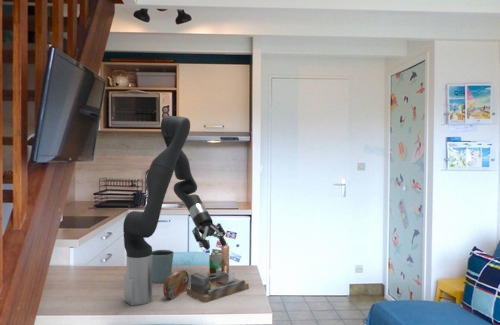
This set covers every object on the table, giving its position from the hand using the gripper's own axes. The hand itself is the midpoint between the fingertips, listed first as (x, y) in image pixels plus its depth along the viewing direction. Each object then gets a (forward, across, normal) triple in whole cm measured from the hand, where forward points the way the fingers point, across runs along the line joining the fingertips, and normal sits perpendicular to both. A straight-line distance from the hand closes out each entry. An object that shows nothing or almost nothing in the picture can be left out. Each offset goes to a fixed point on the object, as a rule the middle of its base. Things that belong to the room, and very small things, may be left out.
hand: (216, 246), depth 160 cm
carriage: (+14, 0, +6) cm, 15 cm away
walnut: (+14, -9, +6) cm, 18 cm away
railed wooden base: (+15, -4, +7) cm, 17 cm away
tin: (+10, -18, +13) cm, 24 cm away
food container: (+4, +10, +20) cm, 22 cm away
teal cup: (-4, -14, +27) cm, 30 cm away
